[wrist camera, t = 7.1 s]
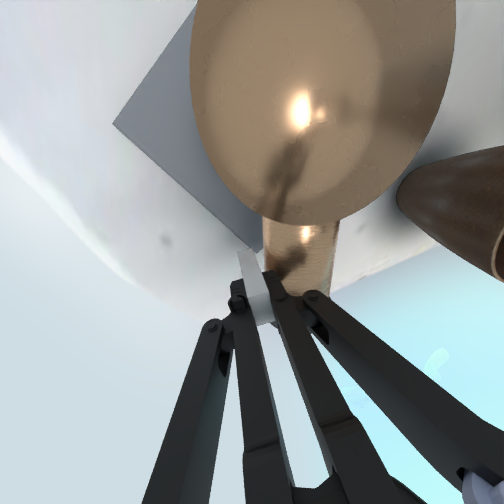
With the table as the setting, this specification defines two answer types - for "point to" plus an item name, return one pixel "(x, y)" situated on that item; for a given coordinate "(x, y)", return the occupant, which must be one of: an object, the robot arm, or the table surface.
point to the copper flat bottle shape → (315, 111)
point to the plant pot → (461, 206)
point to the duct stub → (183, 137)
